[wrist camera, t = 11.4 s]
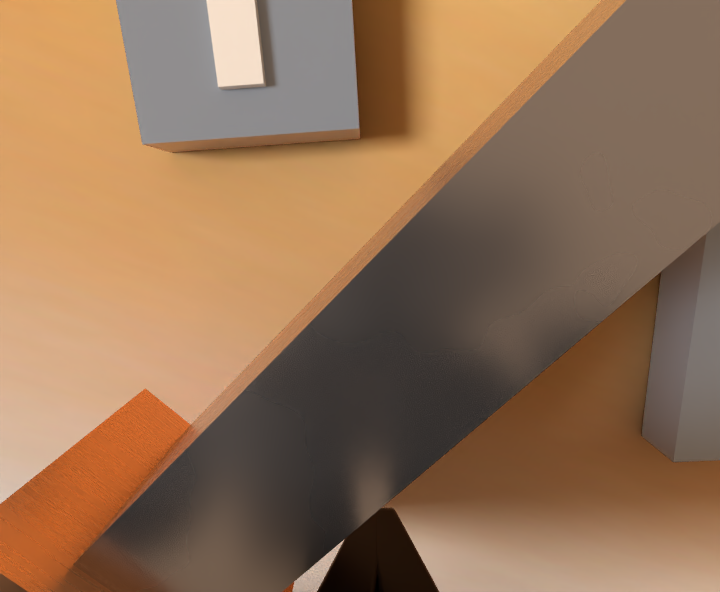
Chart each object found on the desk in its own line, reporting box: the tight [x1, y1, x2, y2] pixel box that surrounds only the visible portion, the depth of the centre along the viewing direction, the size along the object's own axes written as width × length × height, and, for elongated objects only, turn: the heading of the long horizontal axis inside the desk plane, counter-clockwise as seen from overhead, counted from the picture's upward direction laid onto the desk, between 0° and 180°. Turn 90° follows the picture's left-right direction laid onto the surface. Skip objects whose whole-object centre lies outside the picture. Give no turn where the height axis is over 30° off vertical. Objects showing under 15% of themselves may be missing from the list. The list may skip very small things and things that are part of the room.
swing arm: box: [0, 0, 720, 592], centre depth 6 cm, size 24×5×5 cm, turn 136°
